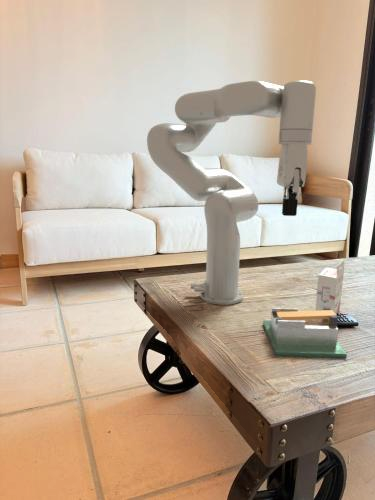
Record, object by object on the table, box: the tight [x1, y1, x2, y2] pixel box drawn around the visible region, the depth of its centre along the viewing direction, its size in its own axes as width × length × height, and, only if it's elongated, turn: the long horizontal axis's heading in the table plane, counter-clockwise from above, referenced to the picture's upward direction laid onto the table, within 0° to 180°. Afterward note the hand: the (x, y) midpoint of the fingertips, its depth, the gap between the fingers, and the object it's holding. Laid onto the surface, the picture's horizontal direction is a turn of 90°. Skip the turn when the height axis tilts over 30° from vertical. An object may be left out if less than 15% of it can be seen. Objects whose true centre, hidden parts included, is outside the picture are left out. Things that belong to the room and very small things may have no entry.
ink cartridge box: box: [314, 259, 345, 315], centre depth 105 cm, size 9×5×15 cm, turn 148°
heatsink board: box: [262, 307, 348, 359], centre depth 90 cm, size 15×16×7 cm
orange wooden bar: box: [276, 310, 338, 320], centre depth 90 cm, size 13×3×1 cm, turn 89°
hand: (289, 215), depth 97 cm, fingers closed
